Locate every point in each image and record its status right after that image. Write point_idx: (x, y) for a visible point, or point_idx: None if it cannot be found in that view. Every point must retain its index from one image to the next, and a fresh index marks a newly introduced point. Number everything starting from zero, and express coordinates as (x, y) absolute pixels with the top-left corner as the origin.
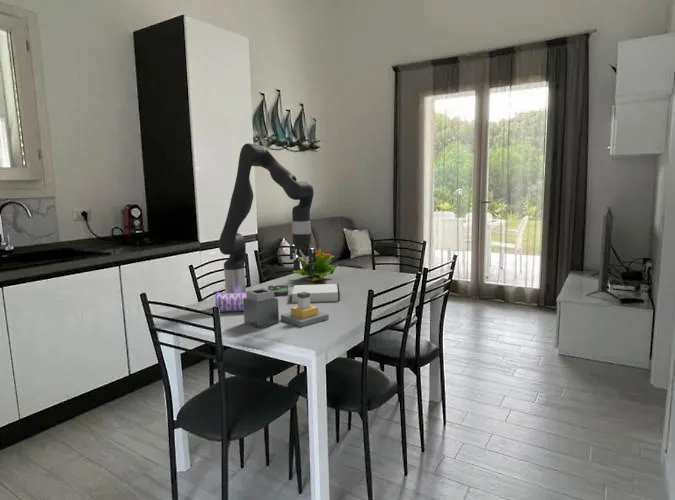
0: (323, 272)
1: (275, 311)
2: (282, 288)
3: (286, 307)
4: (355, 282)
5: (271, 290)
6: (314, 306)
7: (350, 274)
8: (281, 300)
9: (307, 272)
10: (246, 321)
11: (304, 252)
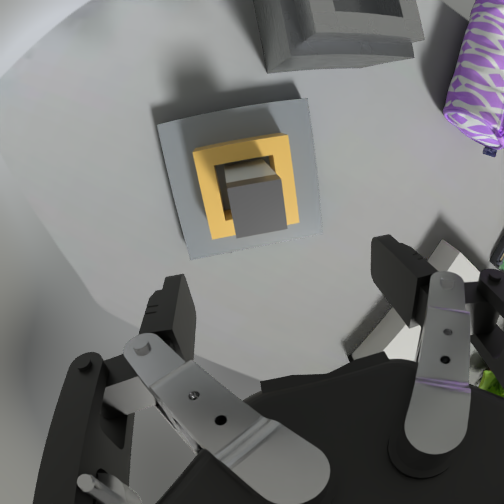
0: (494, 381)
1: (273, 50)
2: None
3: (415, 194)
4: None
5: None
6: (234, 233)
7: None
8: (474, 221)
9: (165, 279)
10: None
11: (201, 475)
